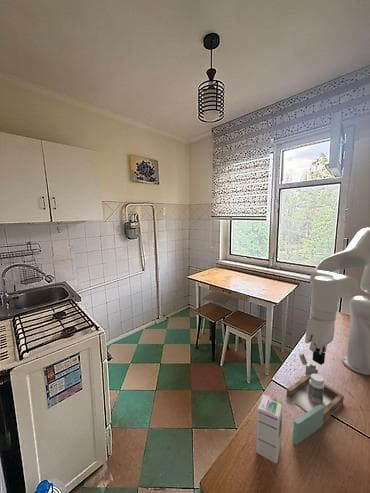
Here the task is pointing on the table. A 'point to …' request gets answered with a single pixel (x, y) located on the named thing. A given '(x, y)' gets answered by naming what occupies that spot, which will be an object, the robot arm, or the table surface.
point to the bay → (300, 397)
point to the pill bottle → (316, 388)
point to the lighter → (308, 365)
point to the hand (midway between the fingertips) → (318, 361)
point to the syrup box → (269, 428)
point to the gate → (308, 424)
